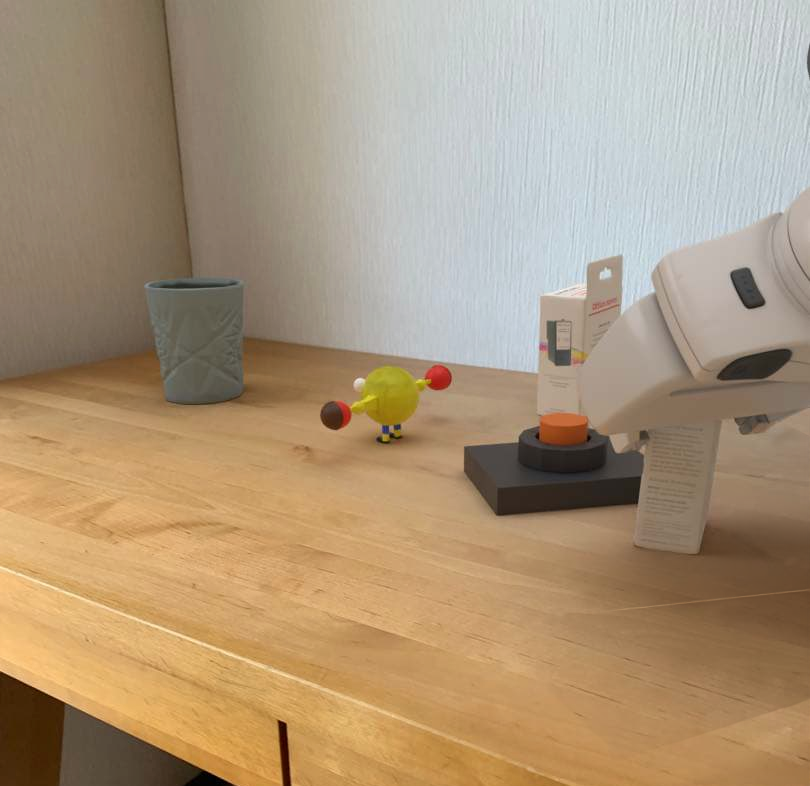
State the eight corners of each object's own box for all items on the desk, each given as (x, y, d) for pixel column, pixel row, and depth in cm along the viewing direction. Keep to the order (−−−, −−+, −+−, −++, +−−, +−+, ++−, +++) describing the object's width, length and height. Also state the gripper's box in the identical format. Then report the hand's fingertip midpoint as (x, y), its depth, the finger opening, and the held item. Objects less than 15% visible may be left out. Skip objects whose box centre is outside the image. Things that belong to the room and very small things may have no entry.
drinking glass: (141, 396, 97) (125, 284, 92) (214, 379, 104) (203, 274, 99) (197, 410, 91) (183, 291, 86) (271, 391, 98) (262, 280, 93)
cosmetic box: (644, 515, 62) (661, 344, 57) (710, 523, 61) (733, 348, 56) (631, 549, 57) (648, 363, 52) (703, 559, 55) (728, 368, 51)
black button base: (614, 459, 74) (617, 413, 72) (667, 501, 65) (673, 449, 63) (463, 471, 72) (464, 424, 70) (496, 516, 63) (498, 463, 61)
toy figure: (420, 413, 88) (419, 345, 85) (467, 421, 85) (468, 351, 82) (301, 461, 75) (295, 383, 72) (352, 473, 72) (348, 392, 69)
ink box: (571, 396, 93) (580, 250, 87) (616, 403, 90) (627, 252, 84) (533, 415, 87) (539, 259, 81) (579, 422, 84) (589, 262, 78)
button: (577, 433, 69) (578, 411, 68) (594, 446, 65) (595, 424, 65) (532, 436, 68) (533, 414, 67) (547, 450, 65) (548, 427, 64)
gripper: (956, 234, 48) (795, 375, 60) (634, 254, 41) (529, 407, 54) (1012, 331, 46) (834, 456, 58) (682, 367, 39) (561, 499, 52)
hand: (685, 433), depth 56 cm, fingers open, 8 cm apart
